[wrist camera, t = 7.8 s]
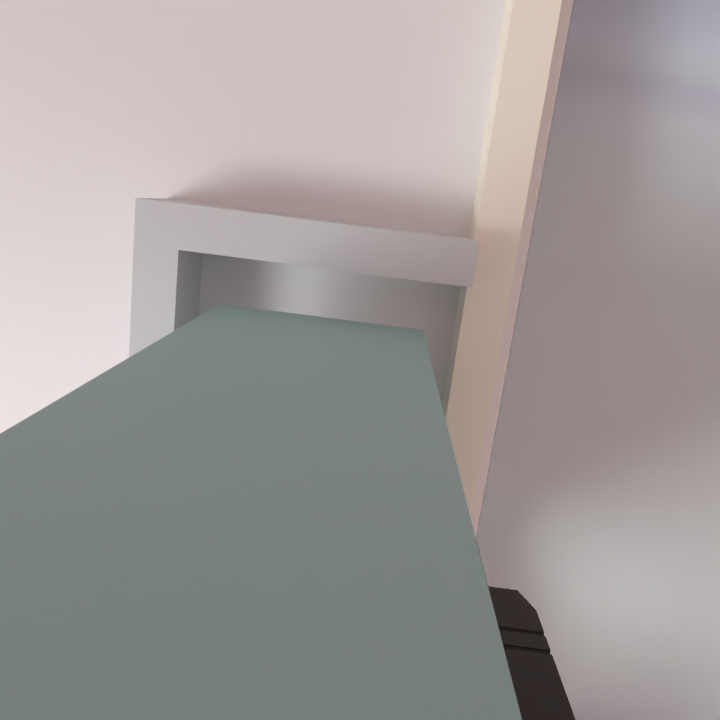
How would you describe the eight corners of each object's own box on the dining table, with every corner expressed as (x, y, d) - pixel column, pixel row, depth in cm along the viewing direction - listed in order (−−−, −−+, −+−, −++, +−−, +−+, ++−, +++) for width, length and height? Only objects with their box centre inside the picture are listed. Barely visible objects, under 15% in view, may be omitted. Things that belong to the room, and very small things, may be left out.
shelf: (-52, 842, 23) (-128, 951, 20) (-92, -437, 15) (-236, -629, 11) (400, 904, 23) (402, 1026, 20) (623, -354, 14) (694, -523, 11)
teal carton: (191, 619, 16) (-299, 1644, 5) (213, 303, 14) (-509, 714, 3) (380, 645, 16) (358, 1752, 5) (428, 330, 14) (588, 868, 3)
